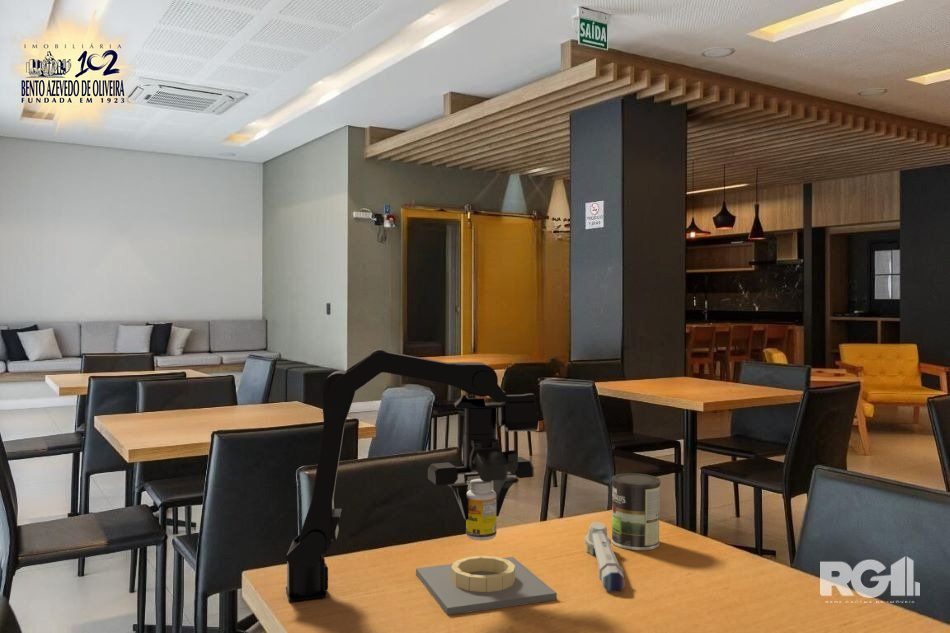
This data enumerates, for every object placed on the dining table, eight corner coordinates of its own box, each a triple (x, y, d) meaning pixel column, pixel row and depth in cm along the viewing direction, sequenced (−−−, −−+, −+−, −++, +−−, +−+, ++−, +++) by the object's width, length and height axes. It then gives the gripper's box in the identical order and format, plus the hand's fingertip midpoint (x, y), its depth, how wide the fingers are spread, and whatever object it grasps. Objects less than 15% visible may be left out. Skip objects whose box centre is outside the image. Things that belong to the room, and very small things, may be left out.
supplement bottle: (460, 534, 138) (460, 479, 138) (487, 530, 141) (487, 476, 141) (475, 543, 133) (474, 485, 133) (502, 538, 136) (501, 482, 136)
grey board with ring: (447, 615, 125) (447, 592, 125) (415, 574, 144) (415, 555, 144) (556, 599, 131) (556, 578, 131) (512, 562, 150) (513, 544, 150)
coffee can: (622, 552, 157) (622, 484, 157) (604, 537, 167) (605, 474, 167) (668, 549, 159) (668, 482, 159) (648, 534, 169) (648, 472, 169)
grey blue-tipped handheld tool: (599, 571, 135) (583, 514, 160) (598, 606, 136) (583, 544, 161) (629, 572, 135) (608, 514, 160) (628, 606, 136) (607, 544, 161)
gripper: (444, 443, 126) (445, 535, 126) (546, 436, 132) (546, 524, 133) (426, 432, 137) (427, 518, 137) (521, 426, 143) (521, 508, 143)
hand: (481, 517), depth 137 cm, fingers closed on supplement bottle, 6 cm apart
